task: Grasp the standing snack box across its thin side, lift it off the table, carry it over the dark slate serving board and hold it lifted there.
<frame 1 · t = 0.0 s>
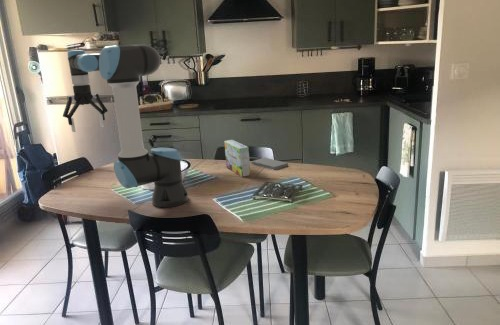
hand: (88, 129, 193), 28 cm above the table, fingers open, 13 cm apart
snack box: (237, 171, 210), on the table
slate board: (269, 164, 219), on the table
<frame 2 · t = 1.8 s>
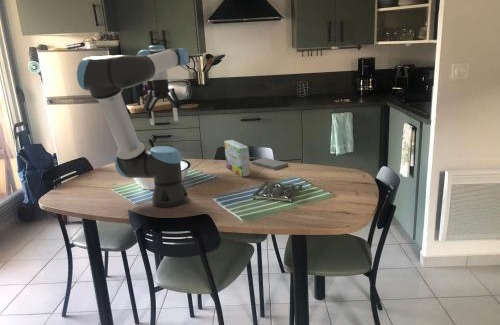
hand: (164, 123, 197), 28 cm above the table, fingers open, 13 cm apart
nothing on the table moved.
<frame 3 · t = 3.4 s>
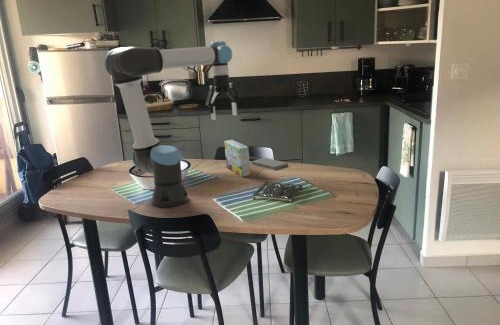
hand: (224, 117, 202), 29 cm above the table, fingers open, 13 cm apart
nothing on the table moved.
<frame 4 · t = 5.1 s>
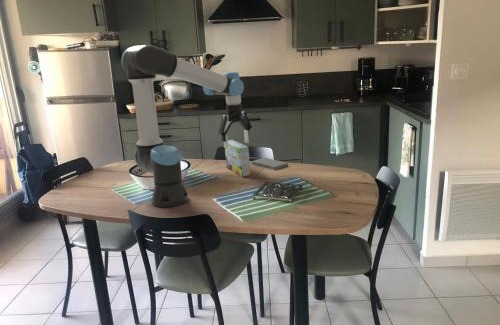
hand: (236, 145, 206), 14 cm above the table, fingers open, 13 cm apart
nothing on the table moved.
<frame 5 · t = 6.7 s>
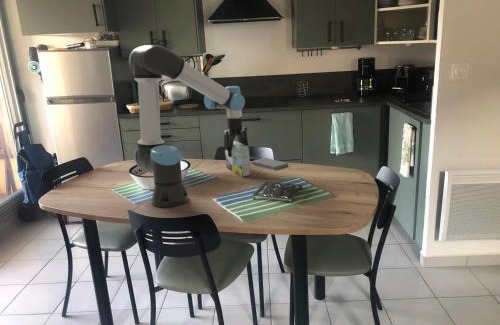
hand: (237, 161, 209), 6 cm above the table, fingers closed on snack box, 7 cm apart
snack box: (237, 171, 210), on the table, touching gripper
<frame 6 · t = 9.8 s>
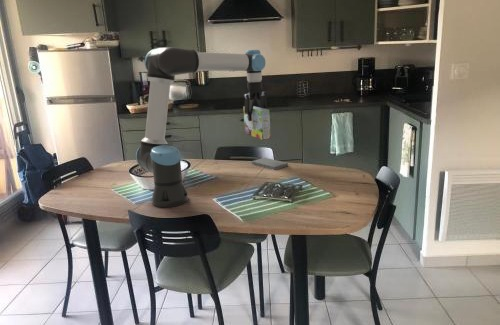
hand: (256, 125, 210), 22 cm above the table, fingers closed on snack box, 7 cm apart
snack box: (257, 136, 212), point 17 cm above the table, touching gripper
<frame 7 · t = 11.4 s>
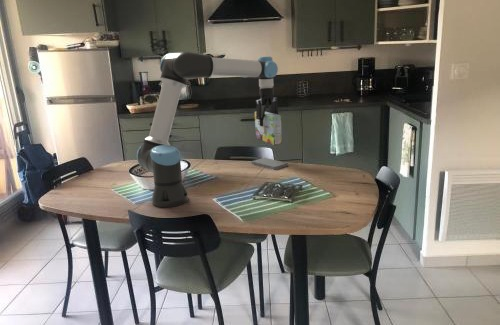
hand: (268, 130, 214), 19 cm above the table, fingers closed on snack box, 7 cm apart
snack box: (268, 141, 215), point 13 cm above the table, touching gripper
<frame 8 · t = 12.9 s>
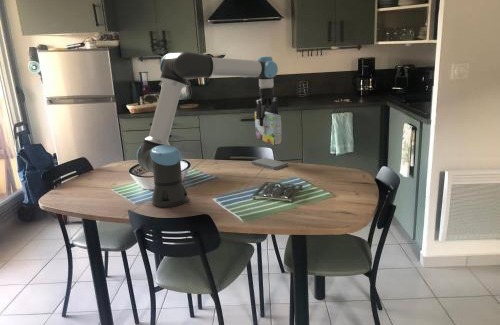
hand: (268, 130, 214), 19 cm above the table, fingers closed on snack box, 7 cm apart
snack box: (268, 141, 215), point 13 cm above the table, touching gripper
at the end: the gripper is holding snack box; snack box point 13.1 cm above the table; snack box 0.2 cm from the slate board (horizontally) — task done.
